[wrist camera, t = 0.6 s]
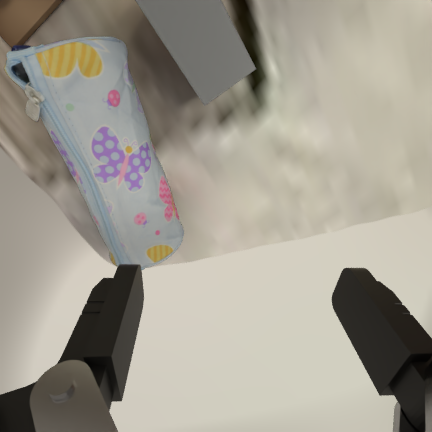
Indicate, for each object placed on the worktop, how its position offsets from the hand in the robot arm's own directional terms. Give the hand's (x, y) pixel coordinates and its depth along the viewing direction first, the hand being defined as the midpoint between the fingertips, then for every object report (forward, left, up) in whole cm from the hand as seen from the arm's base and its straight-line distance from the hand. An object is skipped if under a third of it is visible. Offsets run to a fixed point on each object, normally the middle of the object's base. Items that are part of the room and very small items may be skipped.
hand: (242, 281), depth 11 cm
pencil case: (+10, -4, -21) cm, 24 cm away
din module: (-3, -8, -21) cm, 22 cm away
